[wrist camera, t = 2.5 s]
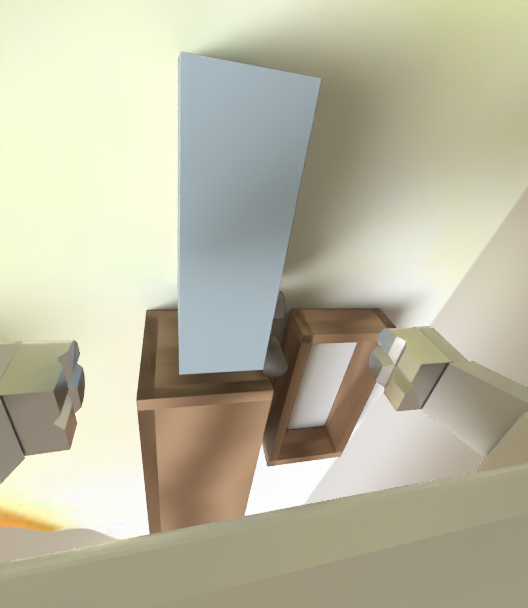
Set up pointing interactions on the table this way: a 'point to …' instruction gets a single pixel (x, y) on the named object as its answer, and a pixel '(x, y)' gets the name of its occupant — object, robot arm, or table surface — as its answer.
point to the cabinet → (239, 414)
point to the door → (235, 205)
